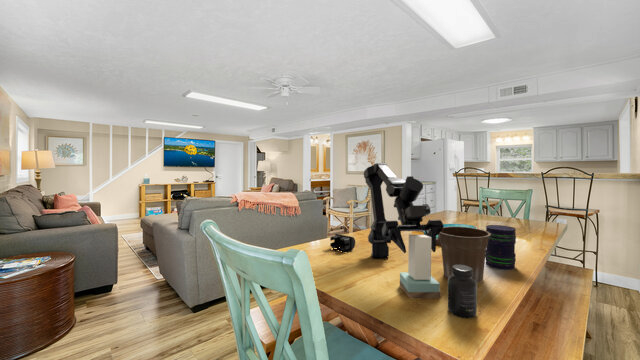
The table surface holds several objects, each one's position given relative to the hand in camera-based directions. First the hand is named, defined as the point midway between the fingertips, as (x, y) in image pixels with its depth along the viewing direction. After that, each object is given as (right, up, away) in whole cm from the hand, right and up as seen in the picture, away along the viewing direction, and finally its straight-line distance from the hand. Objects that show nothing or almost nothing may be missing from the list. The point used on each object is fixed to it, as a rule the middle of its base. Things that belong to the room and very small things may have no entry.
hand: (420, 252), depth 85 cm
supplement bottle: (+7, -13, -12) cm, 19 cm away
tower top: (0, -11, +1) cm, 11 cm away
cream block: (0, -8, +1) cm, 8 cm away
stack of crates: (+30, -11, +54) cm, 63 cm away
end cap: (-20, -11, +47) cm, 52 cm away
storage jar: (+39, -12, +24) cm, 47 cm away
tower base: (0, -13, +1) cm, 13 cm away
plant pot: (+19, -12, +12) cm, 26 cm away
